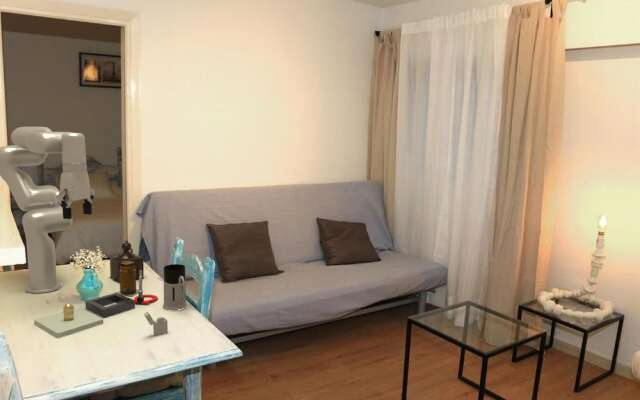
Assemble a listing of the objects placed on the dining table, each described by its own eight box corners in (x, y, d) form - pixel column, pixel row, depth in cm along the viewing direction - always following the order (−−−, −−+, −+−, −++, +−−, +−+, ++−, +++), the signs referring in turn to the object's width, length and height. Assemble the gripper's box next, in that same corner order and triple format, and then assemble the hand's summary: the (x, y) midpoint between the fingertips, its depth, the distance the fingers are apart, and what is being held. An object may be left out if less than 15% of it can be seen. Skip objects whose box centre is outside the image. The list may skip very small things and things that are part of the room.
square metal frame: (85, 309, 181) (85, 301, 180) (116, 300, 190) (116, 292, 190) (103, 318, 174) (103, 309, 173) (135, 308, 183) (134, 300, 183)
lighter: (165, 330, 166) (165, 307, 164) (167, 332, 164) (167, 309, 163) (144, 336, 161) (143, 312, 160) (145, 338, 160) (145, 314, 159)
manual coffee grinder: (108, 278, 214) (106, 236, 211) (133, 273, 222) (131, 233, 219) (124, 287, 204) (123, 244, 201) (150, 281, 212) (149, 240, 209)
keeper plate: (34, 324, 167) (34, 319, 167) (78, 311, 179) (78, 307, 179) (58, 338, 158) (57, 333, 157) (103, 323, 170) (103, 319, 169)
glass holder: (182, 300, 193) (182, 262, 190) (196, 313, 181) (195, 272, 178) (159, 304, 188) (158, 265, 185) (171, 317, 176) (171, 276, 174)
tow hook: (141, 296, 196) (128, 303, 187) (141, 264, 195) (128, 270, 186) (161, 298, 195) (150, 306, 186) (162, 265, 194) (150, 272, 184)
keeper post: (62, 319, 168) (61, 303, 167) (71, 316, 170) (70, 301, 169) (66, 322, 166) (65, 306, 165) (75, 319, 168) (74, 303, 167)
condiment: (128, 287, 204) (127, 259, 202) (144, 291, 201) (144, 262, 199) (114, 293, 198) (113, 263, 196) (130, 297, 194) (130, 267, 192)
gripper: (83, 166, 186) (86, 211, 189) (46, 170, 170) (50, 220, 172) (100, 166, 184) (103, 213, 187) (64, 170, 168) (68, 221, 170)
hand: (77, 216), depth 180 cm, fingers open, 9 cm apart
